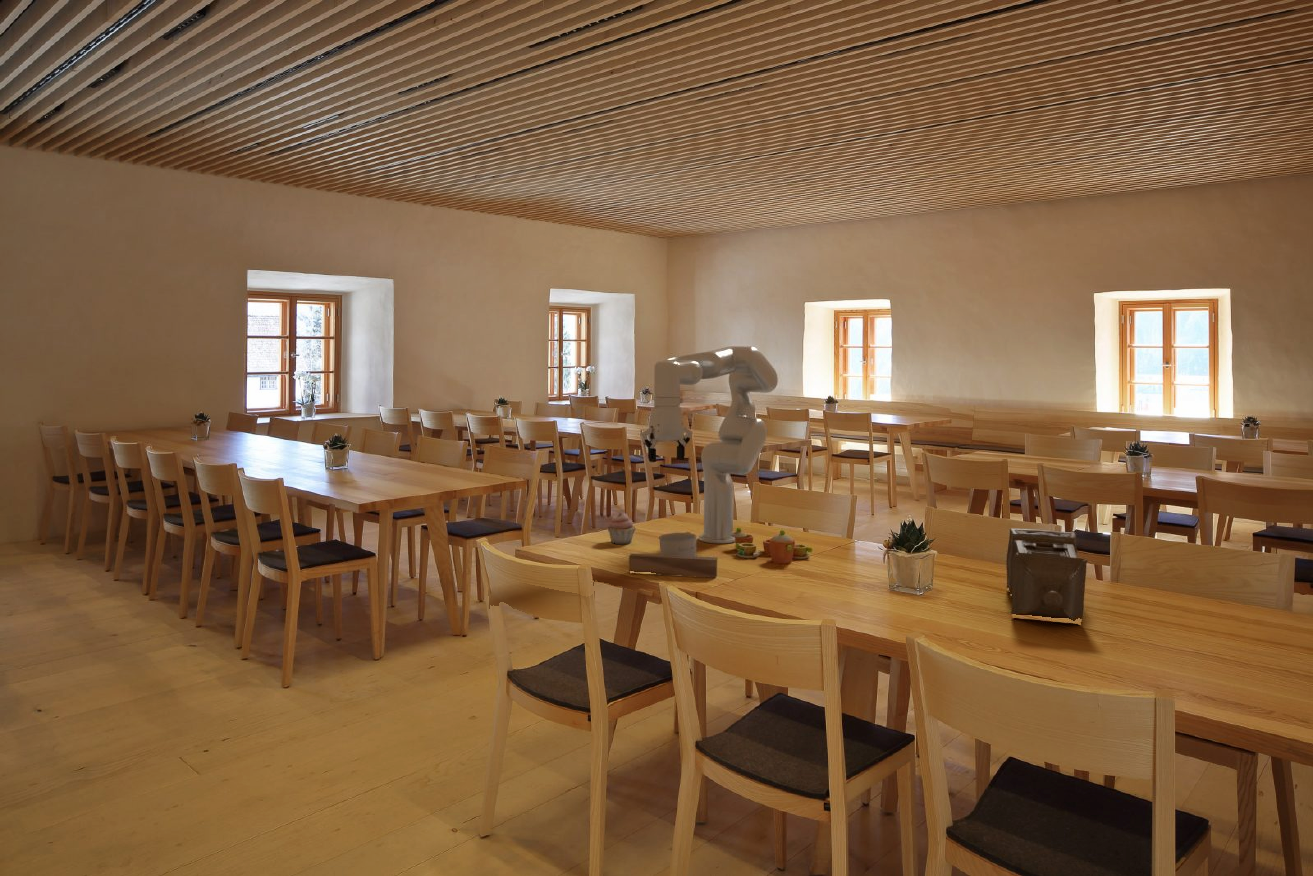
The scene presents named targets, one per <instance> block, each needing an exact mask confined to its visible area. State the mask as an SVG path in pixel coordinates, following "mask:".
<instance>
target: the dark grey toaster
mask: <svg viewBox="0 0 1313 876" xmlns="http://www.w3.org/2000/svg"><path fill="white" fill-rule="evenodd" d="M1077 537H1078V536H1077V533H1076V532H1075V531H1074V532H1073V531H1072V532H1071V531H1069V532H1068V531H1057V530H1049V529H1048V530H1047V529H1033V528H1014V527H1013V528H1009V539H1008V544H1007V551H1006V560H1005V561H1006V562H1005V563H1006V565H1005V567H1006V568H1005V569H1006V589H1007V588H1009V591H1010V593H1009V595H1010V594H1012V597H1011V611H1010V612H1011V613H1010V614H1016V615H1032V616H1042V617H1051V618H1069V619H1071V620H1073V621H1075V620H1076V619H1078V618H1080V619H1083V616H1084V609H1085V608H1084V607H1085V604H1084V603H1085V590H1086V577H1087V564H1088V559H1086V558H1078V557H1077V551H1078V545H1077ZM1009 591H1008V592H1009Z"/></svg>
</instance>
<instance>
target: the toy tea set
mask: <svg viewBox="0 0 1313 876" xmlns="http://www.w3.org/2000/svg"><path fill="white" fill-rule="evenodd" d="M735 530H736V531H733V533H732V534H731V536H732V537H735V542H734V543H735V545H734V546H735V549H736V550H737V549H738V550H737V551H738V552H736V556H737V557H738V558H742V559H755V558H758V557H759V556H760V554H761V553H762V551H761V549H760V550H758V549H757V544H756V543H754V535H753V534H747V533H745V532H743V531H742V528H741V527H740V526H739V527H737V528H736V529H735ZM785 531H786V530H784V529H780V530H779V533H777V534H775V535H774V536H772V538H770V539H769V538H768V539H767V538H766V539H763V540H762V546H763V553H764V554H765V555H768V554H771V555H770V557H771V562H772V563H774V564H778V563H788V564H791V563H792V562H793V560H806V559H809V558H810V554H809V553H812V552H813V548H812V547H811V546H808V545H807V544H803V543H802V544H801V543H796V541H795V539H794V538H793V537H792V536H790V535H789V534H788V533H786V532H785ZM807 552H808V553H807Z"/></svg>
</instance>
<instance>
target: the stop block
mask: <svg viewBox="0 0 1313 876" xmlns="http://www.w3.org/2000/svg"><path fill="white" fill-rule="evenodd" d="M629 571H634V572H651V573H656V574H661V575H660V576H664V575H682V576H681V577H685V576H696V577H695V578H706V577H714V578H713V579H716V578H717V576H718V557H716V556H713V557H712V556H696V555H695V556H676V555H661V554H649V553H630V554H629V555H628V572H629Z"/></svg>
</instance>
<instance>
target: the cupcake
mask: <svg viewBox="0 0 1313 876" xmlns="http://www.w3.org/2000/svg"><path fill="white" fill-rule="evenodd" d="M606 529H607V531H608V534H609V536H610V541H611V543H612V544H614V543H615V544H614V545H629V544H631V543H632V541H633V537H634V533H635V531H636V529H637V528H636V526H634V522H633V521H632V519H631V518H630V517H629V516H628V514H627V513H625V512H622V511H620V512H619V513H618V515H616V516H613V517H612V519H611V521H609V523H608V527H606Z"/></svg>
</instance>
